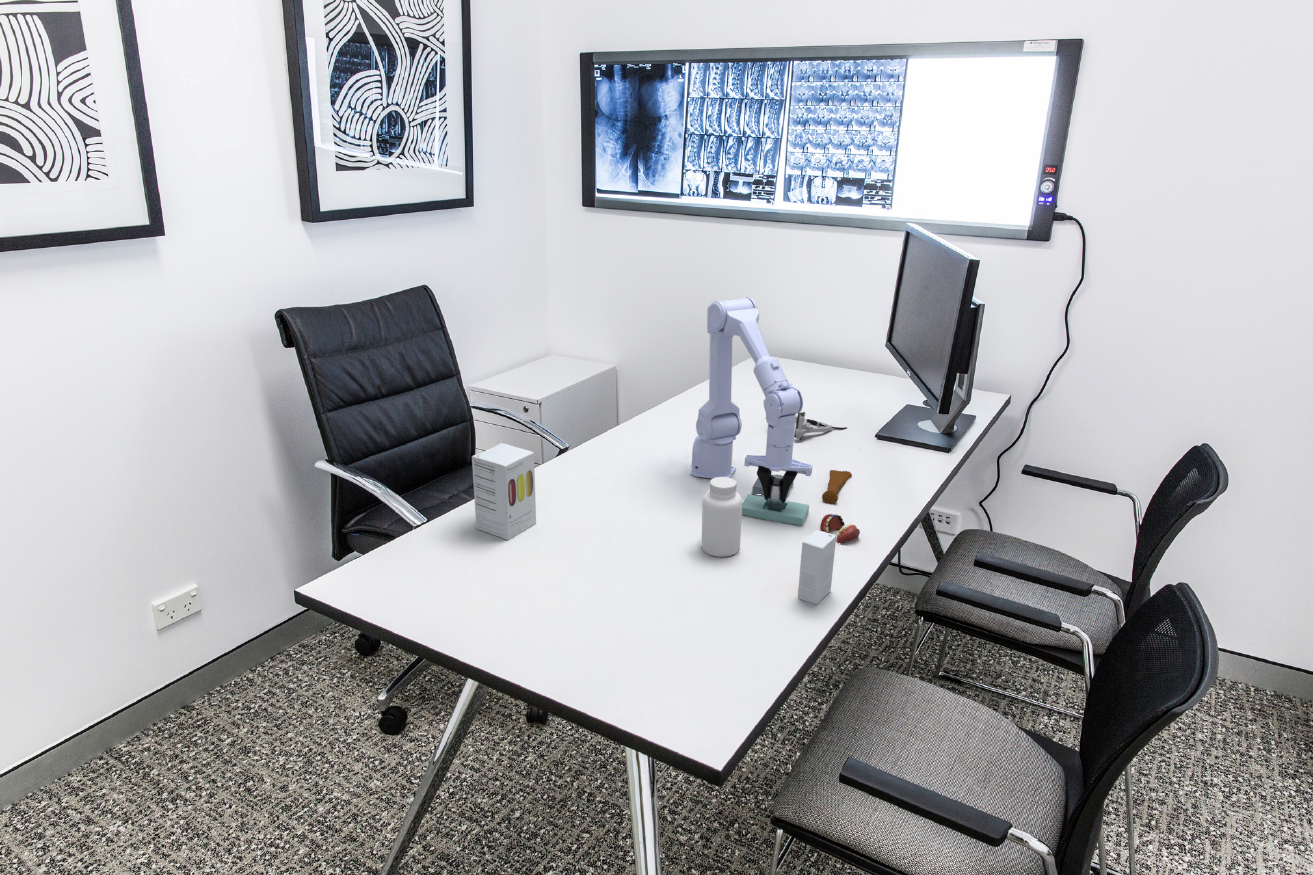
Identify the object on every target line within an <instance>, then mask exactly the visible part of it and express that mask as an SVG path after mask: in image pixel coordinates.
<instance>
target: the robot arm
mask: <svg viewBox="0 0 1313 875" xmlns="http://www.w3.org/2000/svg"><path fill="white" fill-rule="evenodd" d="M706 313H707V314H706V315H707V317H706V318H707V319H706V320H707V322H706V323H707V325H706V326H707V327H706V328H707V331H706V332H707V334H709V359H708V360H709V364H708V365H709V369H708V370H709V372H708V373H709V374H708V377H709V379H708V381H709V382H708V387H709V388H708V400H707V401H706V402H705V403H704V404H703V405H702V406H701V407H700V408H699V409H698V416H697V420H696V423H695V429H696V433H697V436H695V438H694V441H693V444H692V450H691V451H692V452H691V472H690V475H691V476H694V477H699V478H700V477H701V478H704V479H705V478H706V479H711V480H712V479H713V478H716V477H728V478H731V477H732V476H733V474H734V472H735V471H737V470H736V469H737V468H736V466H733V465H732V463H733V449H734V448H733V447H734V441H735V440H736V439H737V436H738V435H739V434H741V430H742V428H743V427H742V426H743V423H742V419H741V414H740V407H739V406H738V405H737V404H735V403H734V402H733V401H732V382H733V381H732V377H733V376H732V375H733V374H732V373H733V371H732V370H733V366H732V365H733V338H734V337H735V336H737V337H739V338H740V340H741V341H742V344H743V345H744V347H745V348H746V350H747V352H748V354H749V355H750V357H751V359H752V361H754V363H755V365H754V368H753V374H754V375H755V376H754V377H755V378H756V380H757V382H758V384H759V387H760V389H761V391H762V394H764V395H763V396H764V397H765V398H764V400H763V407H764V413H765V421H766V423H767V430H766V431H767V432H766V433H767V434H766V444H765V445H766V446H765V455H755V454H754V455H752V454H746V456H745V457H744V462H743V463H744V464H743V466H744V467H750V466H751V467H755V468H756V467H757V470H756V476H757V478H759V480H760V482H761V485H762V488H763V492H764V496H763V497H764V499H765V500H768V498H769V486H770V476H771V475H772V472H777V473H779V472H781V471H782V472H785V473H784V474H783V475H782V476H783V492H782V499H781V503H785V501H787V499H788V497H787V494H788V491H789V488H790V486H791V484H792V483H793V484H794V481H795V479H796V477H797V475H798V474H801V475H804V476H805V477H811V475H812V474H813V467H814V466H813V464H809V463H805V462H802V461H798V460H796V459H793V452H794V451H793V450H794V439H795V437H794V433H795V428H796V422H797V421H796V416H797V415H798V413H800V412H802V410H803V407H804V398H803V396H802V392H801V391H800V389H799V388H798V387H796V386H795V385H793V383H791V382H789V381H788V378H787V376H786V374H785V372H784V371H783V368H782V366H781V364H780V362H779V360H778V359H777V358H775V357H772V356H771V355H770V353H769V351H768V347H767V345H766V342H765V340H764V338H763V334H762V332H761V330H760V327H759V324H758V323H759V321H760V320H759V319H760V311H759V310H758V306H757V303H756V302H755V300H754V299H753V298H752V297H749V296H746V297H744V298H736V299H735V298H734V299H726V300H714V301H713V302H711V303H710V305H708V307H707V310H706ZM794 414H795V415H794ZM786 498H787V499H786Z"/></svg>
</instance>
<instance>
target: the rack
mask: <svg viewBox="0 0 1313 875" xmlns="http://www.w3.org/2000/svg"><path fill="white" fill-rule="evenodd" d="M767 509H768V500H765V499H764V496H761V495H755V494H749V493H748V494H747V495H746V496H745V498H744V500H743V501H742V517H745V518H747V517H748V518H751V517H752V518H753V519H759V520H764V521H768V520H769V522H773V523H779V522H780V523H779V524H786V525H790V524H791V526H796V527H801V526H802V527H803V526H804V525H805V522H806V521H807V517H808V514H809V510H810V504H807V503H801V502H795V501H791V500H786V501H785V503H783V505H782V512H777V511H771V510H767Z"/></svg>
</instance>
